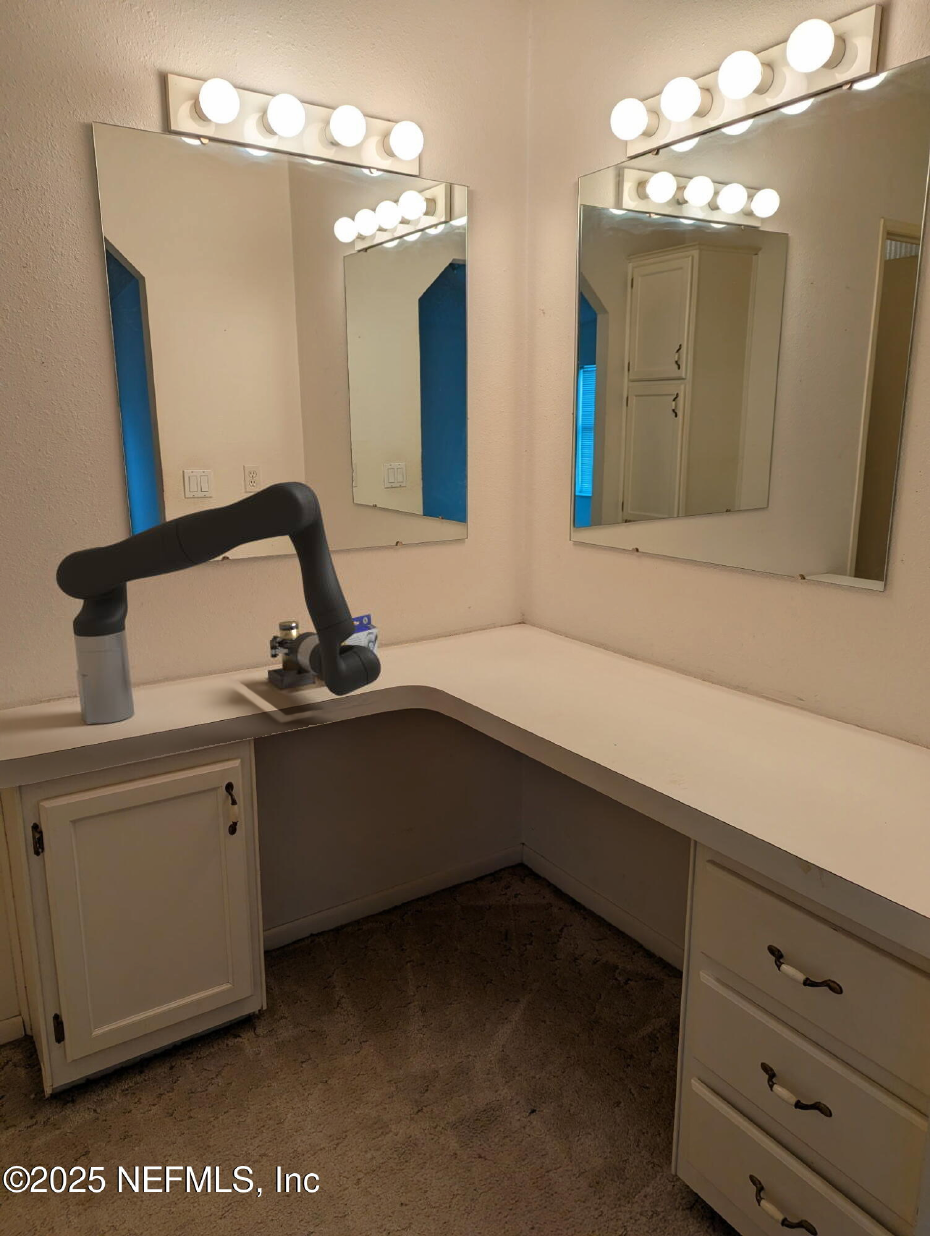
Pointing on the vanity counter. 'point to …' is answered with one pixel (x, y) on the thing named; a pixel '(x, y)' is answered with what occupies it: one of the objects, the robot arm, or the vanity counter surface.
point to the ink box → (364, 633)
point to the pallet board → (295, 680)
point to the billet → (290, 631)
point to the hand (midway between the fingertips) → (285, 638)
